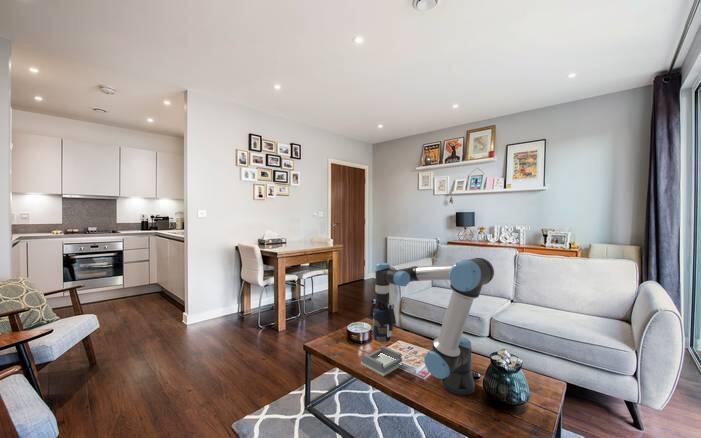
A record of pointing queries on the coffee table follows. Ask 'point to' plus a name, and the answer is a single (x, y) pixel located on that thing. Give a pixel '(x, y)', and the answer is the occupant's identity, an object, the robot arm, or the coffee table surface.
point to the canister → (380, 325)
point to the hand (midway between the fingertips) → (381, 333)
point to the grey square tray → (382, 361)
